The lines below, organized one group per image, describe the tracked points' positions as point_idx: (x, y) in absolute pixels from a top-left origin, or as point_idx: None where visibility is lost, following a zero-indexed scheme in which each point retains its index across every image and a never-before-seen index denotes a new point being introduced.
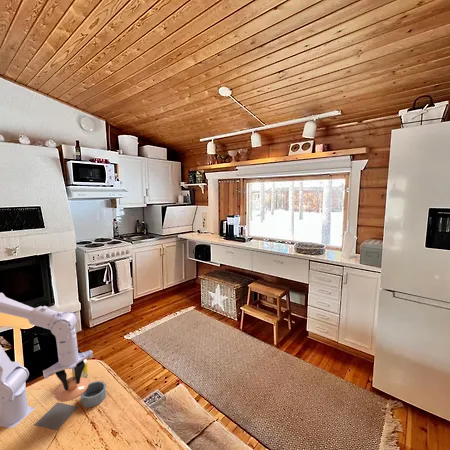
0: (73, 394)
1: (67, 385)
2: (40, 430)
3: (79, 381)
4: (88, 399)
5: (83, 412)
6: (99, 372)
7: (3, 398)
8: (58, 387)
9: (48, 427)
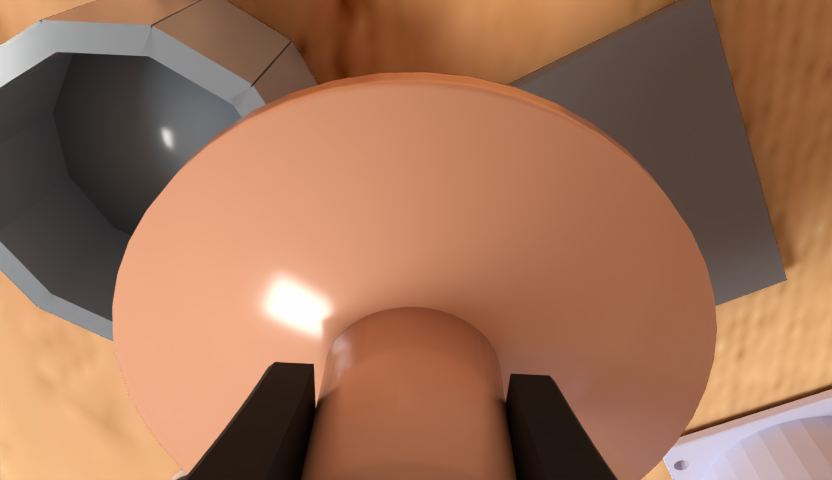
0: (472, 179)
1: (535, 445)
2: (776, 168)
3: (258, 391)
4: (250, 74)
5: (361, 37)
6: (61, 453)
7: None
8: None
9: (735, 122)
